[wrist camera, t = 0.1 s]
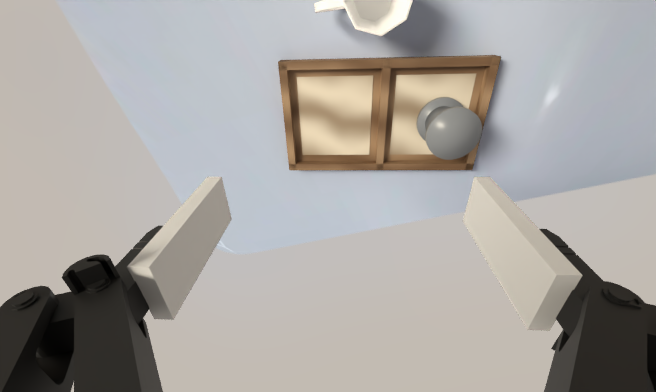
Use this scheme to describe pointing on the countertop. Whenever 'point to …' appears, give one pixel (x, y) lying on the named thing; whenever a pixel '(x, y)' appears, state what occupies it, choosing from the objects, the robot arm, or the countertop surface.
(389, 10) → the cup
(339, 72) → the slot tray
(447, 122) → the doorknob
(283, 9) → the countertop surface
